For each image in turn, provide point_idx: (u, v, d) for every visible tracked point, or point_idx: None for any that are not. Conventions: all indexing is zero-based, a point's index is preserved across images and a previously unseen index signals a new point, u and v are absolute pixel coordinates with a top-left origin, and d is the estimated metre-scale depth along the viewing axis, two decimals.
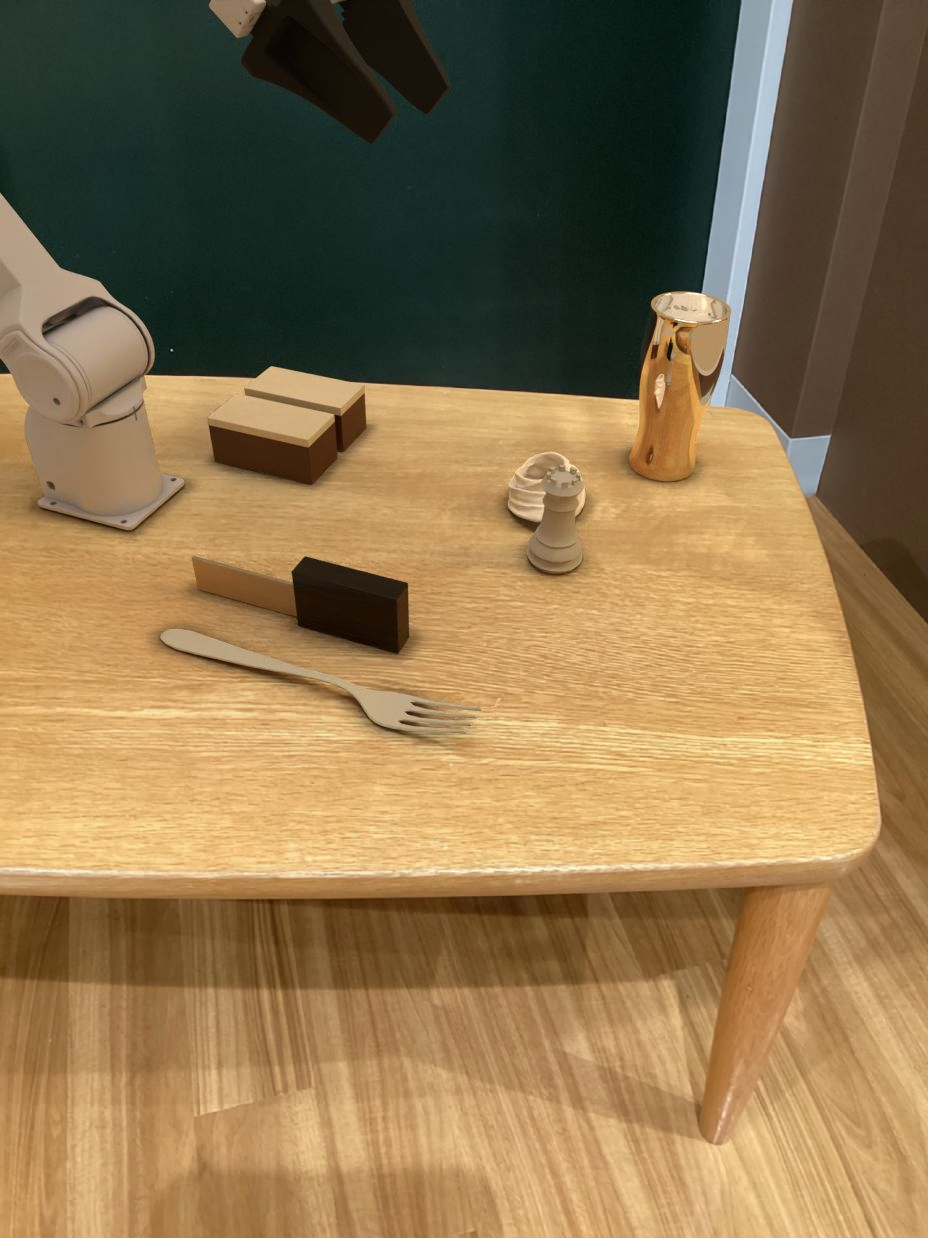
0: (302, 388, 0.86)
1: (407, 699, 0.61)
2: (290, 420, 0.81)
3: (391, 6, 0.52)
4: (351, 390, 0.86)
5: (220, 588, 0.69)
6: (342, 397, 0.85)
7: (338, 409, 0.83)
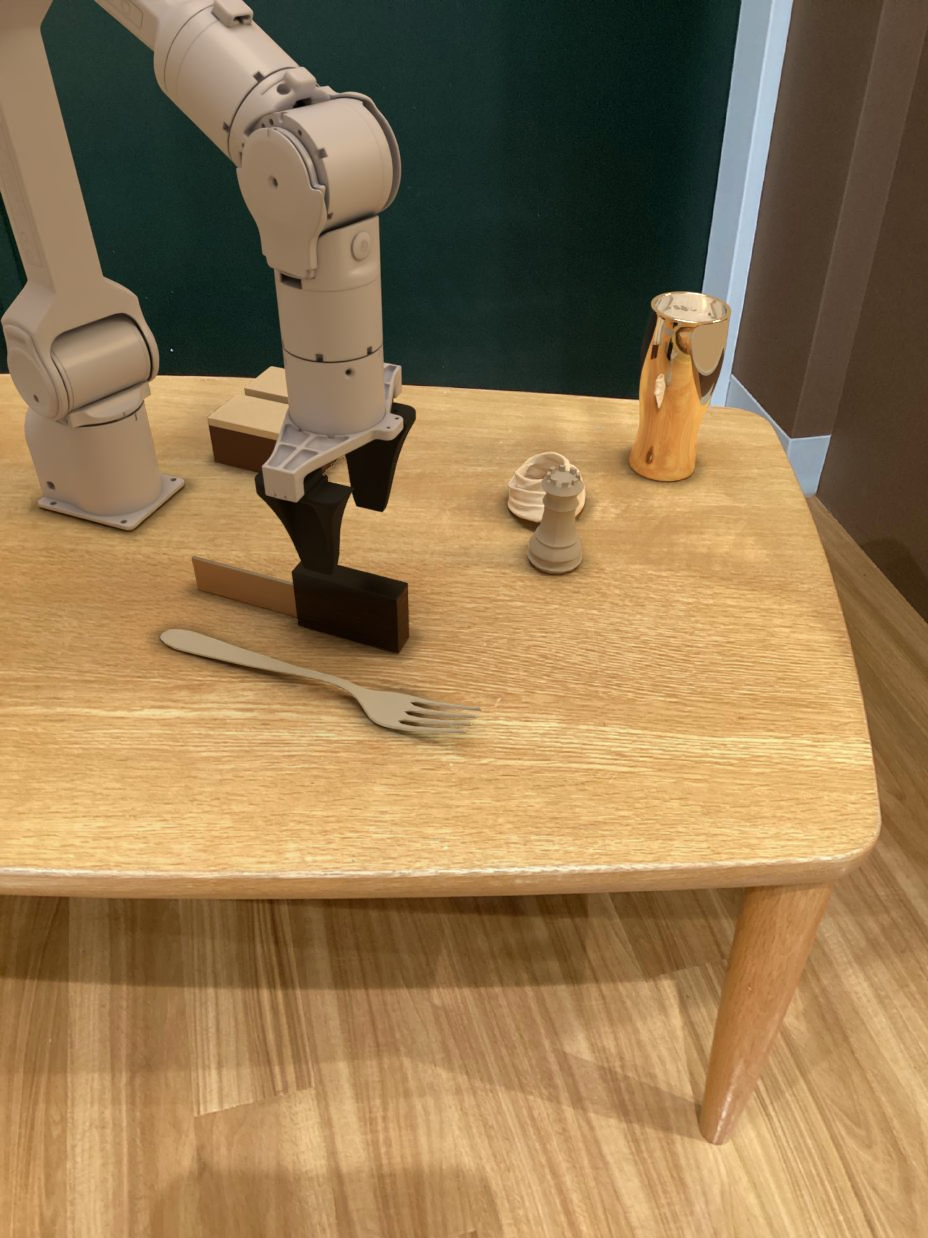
0: None
1: (407, 699, 0.61)
2: None
3: (387, 448, 0.60)
4: None
5: (220, 588, 0.69)
6: None
7: None
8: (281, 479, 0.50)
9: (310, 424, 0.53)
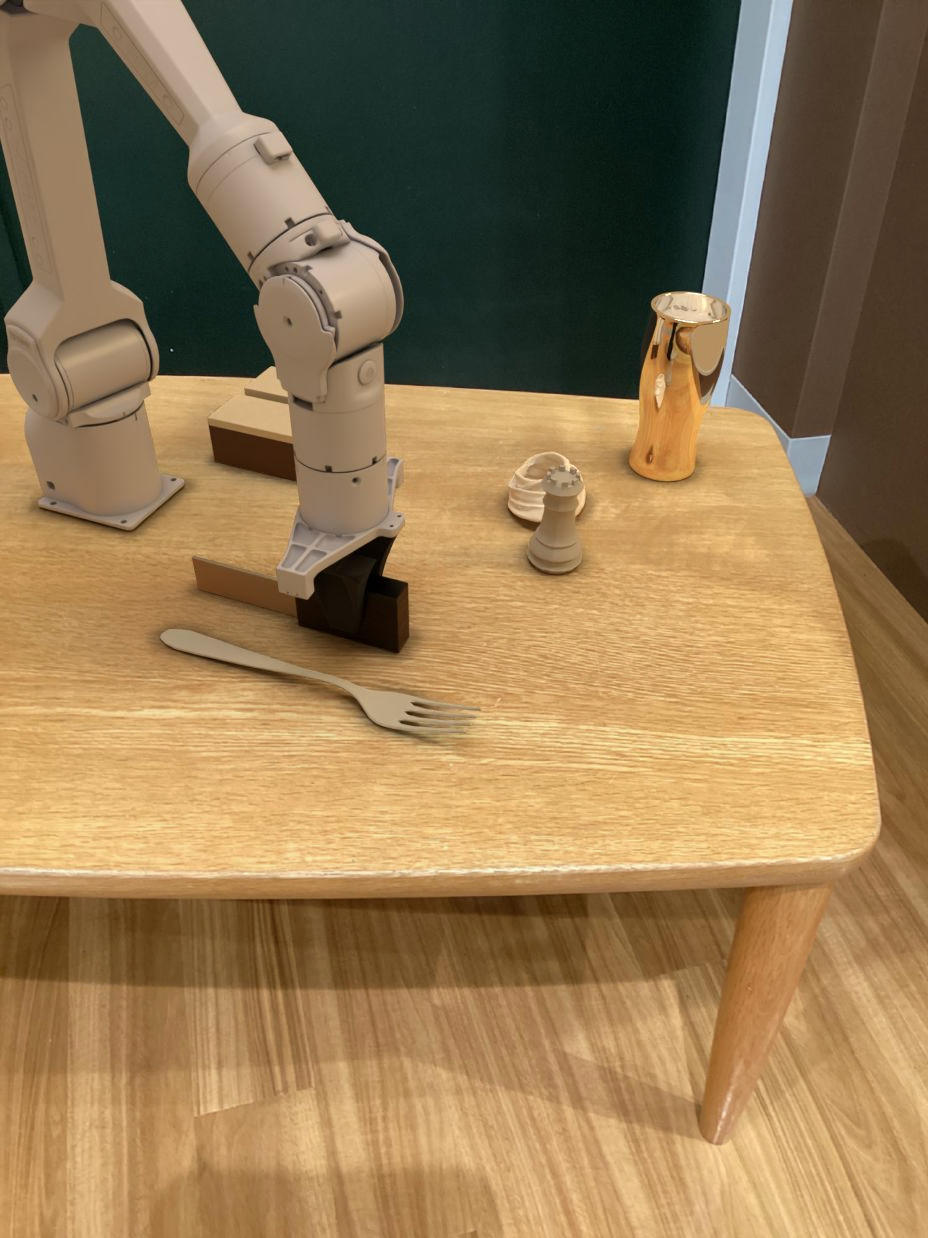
0: None
1: (407, 699, 0.61)
2: None
3: (375, 555, 0.63)
4: None
5: (221, 588, 0.69)
6: None
7: None
8: (293, 579, 0.55)
9: (319, 524, 0.58)
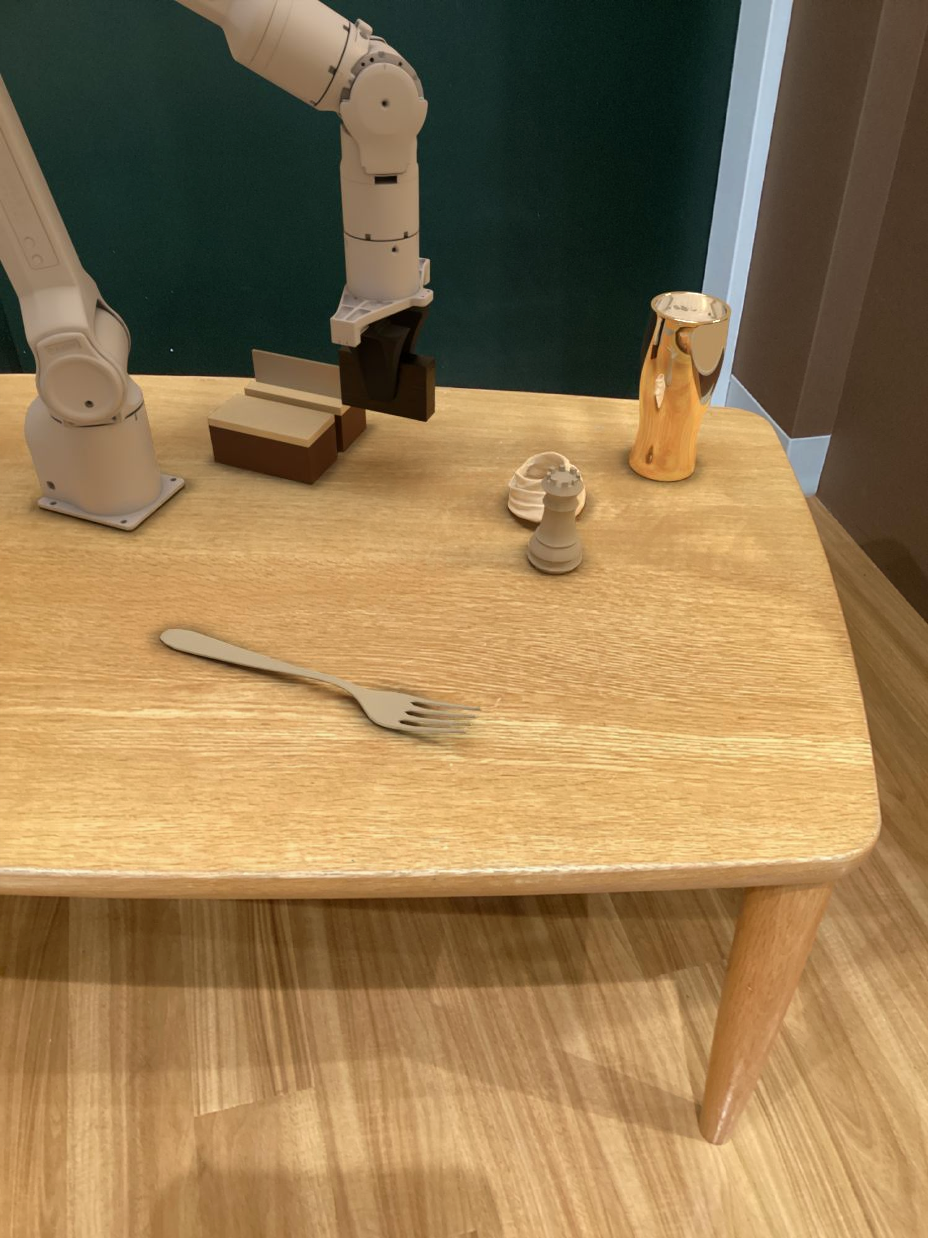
0: None
1: (407, 699, 0.61)
2: (290, 420, 0.81)
3: (407, 334, 0.76)
4: None
5: (275, 378, 0.82)
6: None
7: (338, 409, 0.83)
8: (344, 328, 0.68)
9: (364, 292, 0.71)
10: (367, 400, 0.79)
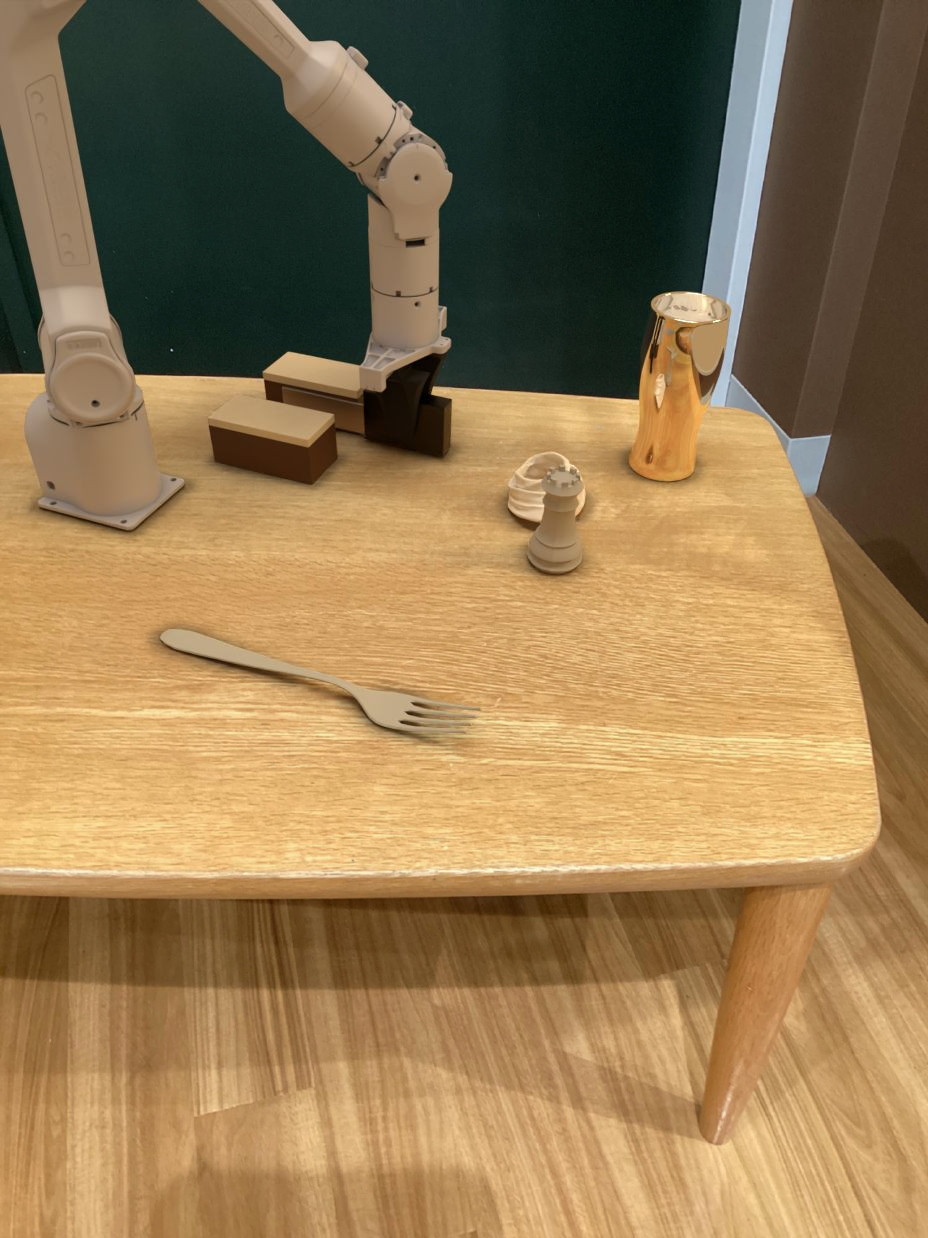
0: (319, 372, 0.88)
1: (407, 699, 0.61)
2: (290, 420, 0.81)
3: None
4: None
5: None
6: (358, 381, 0.87)
7: (354, 392, 0.86)
8: (371, 375, 0.75)
9: (388, 341, 0.78)
10: (388, 435, 0.86)
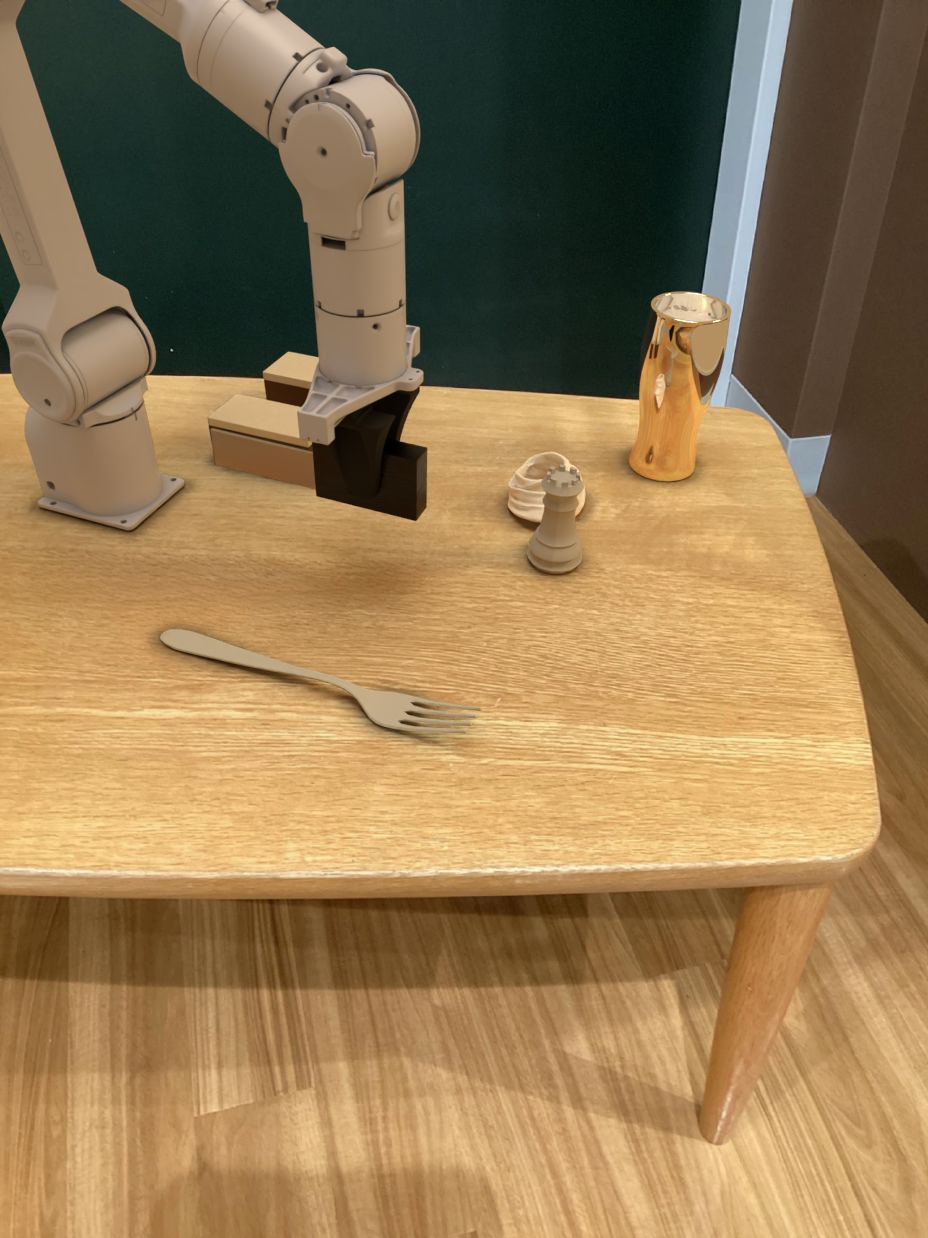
0: None
1: (407, 699, 0.61)
2: (290, 420, 0.81)
3: None
4: None
5: (238, 461, 0.69)
6: None
7: None
8: (314, 423, 0.56)
9: (339, 375, 0.58)
10: (346, 493, 0.66)
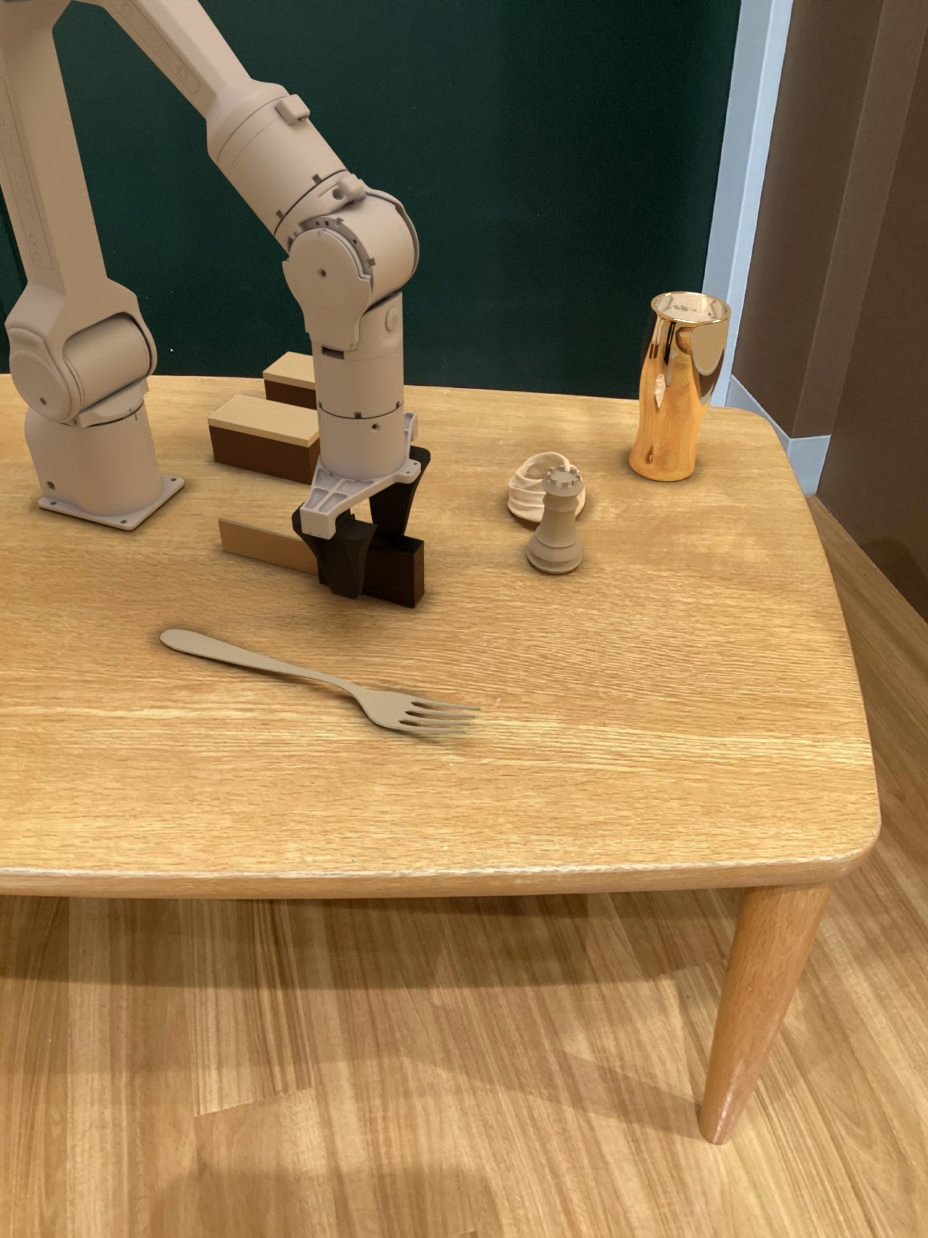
0: None
1: (407, 699, 0.61)
2: (290, 420, 0.81)
3: (405, 486, 0.68)
4: None
5: (245, 549, 0.73)
6: None
7: None
8: (316, 519, 0.58)
9: (340, 470, 0.61)
10: None
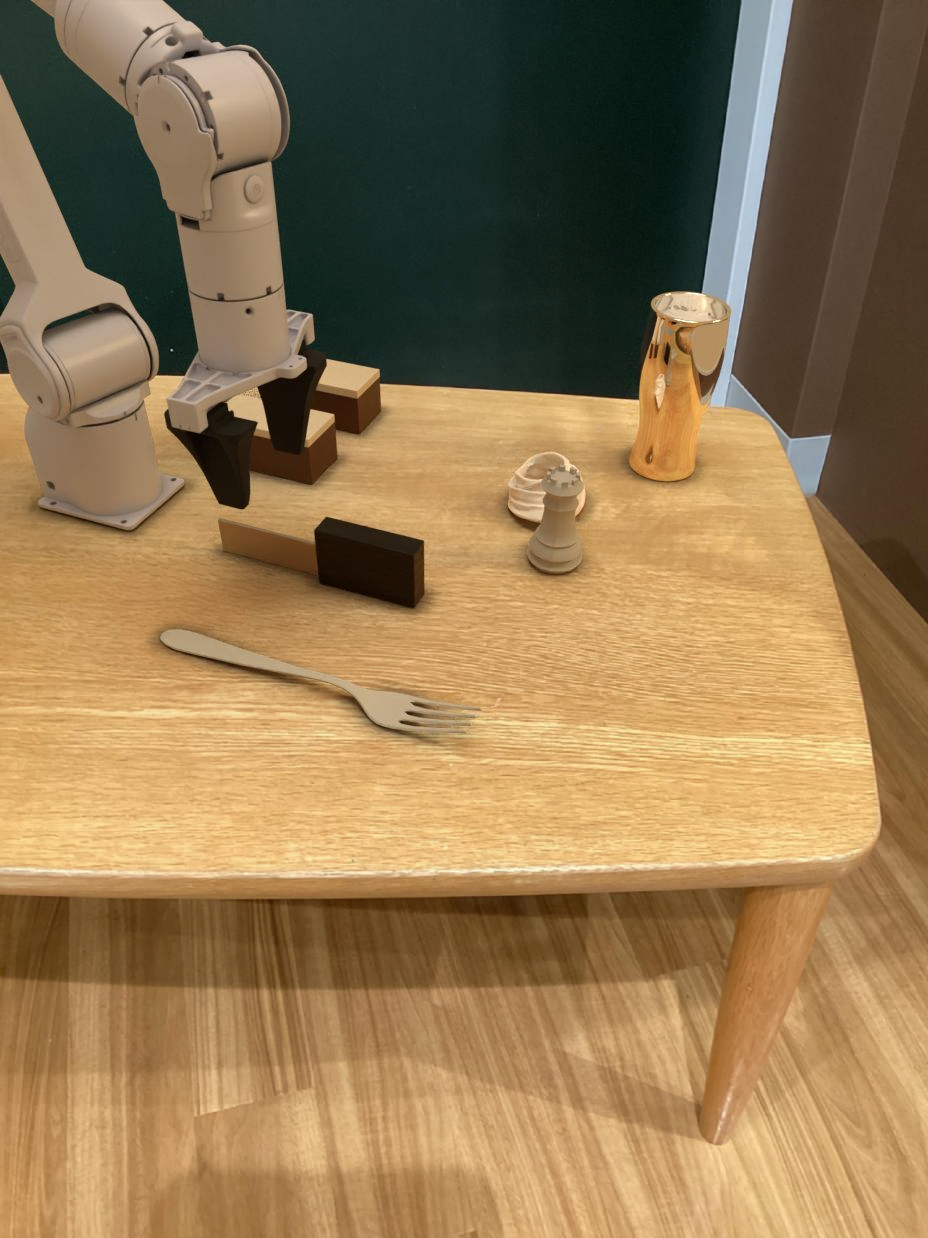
0: None
1: (407, 699, 0.61)
2: None
3: (299, 391, 0.64)
4: (367, 374, 0.88)
5: (245, 549, 0.73)
6: (358, 381, 0.87)
7: (354, 392, 0.86)
8: (184, 410, 0.54)
9: (216, 362, 0.57)
10: (347, 581, 0.70)
